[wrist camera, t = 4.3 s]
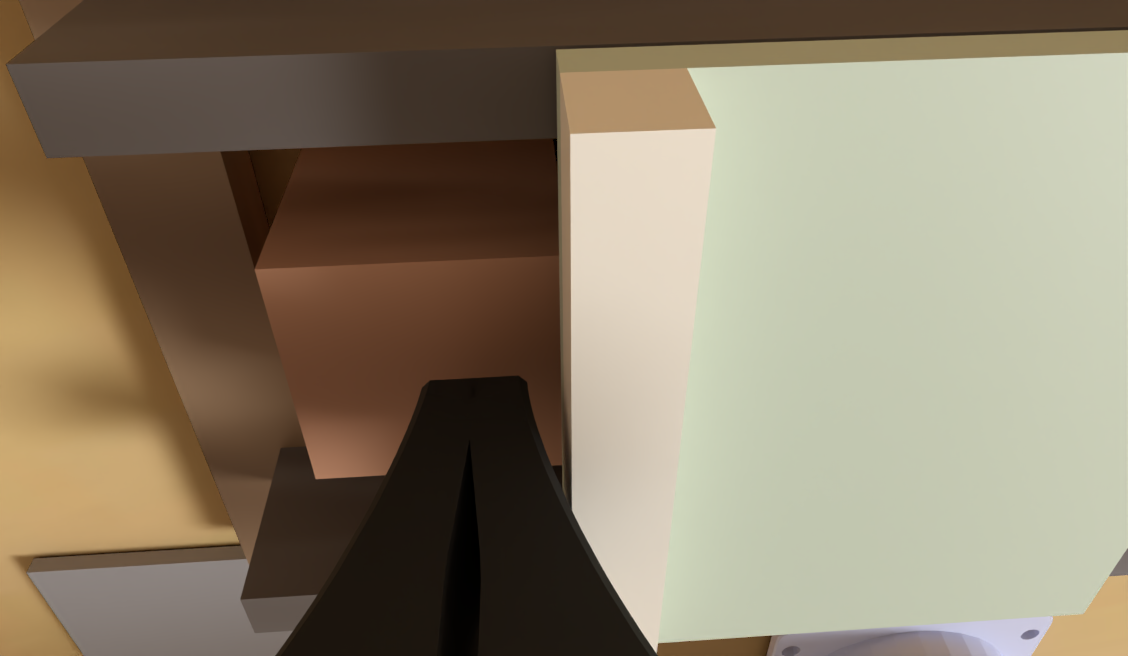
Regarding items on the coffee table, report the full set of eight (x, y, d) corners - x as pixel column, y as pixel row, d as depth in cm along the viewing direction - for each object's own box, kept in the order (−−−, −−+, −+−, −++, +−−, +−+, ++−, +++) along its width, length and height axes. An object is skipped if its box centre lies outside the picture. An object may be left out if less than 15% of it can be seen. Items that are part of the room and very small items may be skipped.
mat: (375, 688, 24) (373, 701, 24) (132, 705, 24) (127, 718, 24) (331, 539, 20) (329, 553, 20) (33, 558, 20) (26, 572, 19)
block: (554, 311, 16) (569, 463, 13) (349, 322, 16) (316, 479, 13) (550, 122, 14) (567, 255, 11) (308, 131, 14) (255, 269, 11)
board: (1157, 476, 21) (1297, 645, 17) (263, 530, 20) (213, 723, 16) (1698, -351, 11) (2303, -359, 7) (-58, -331, 10) (-379, -328, 6)
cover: (1064, 584, 15) (1127, 685, 13) (564, 617, 14) (572, 726, 13) (1416, 20, 9) (1607, 93, 7) (555, 49, 8) (570, 133, 7)
